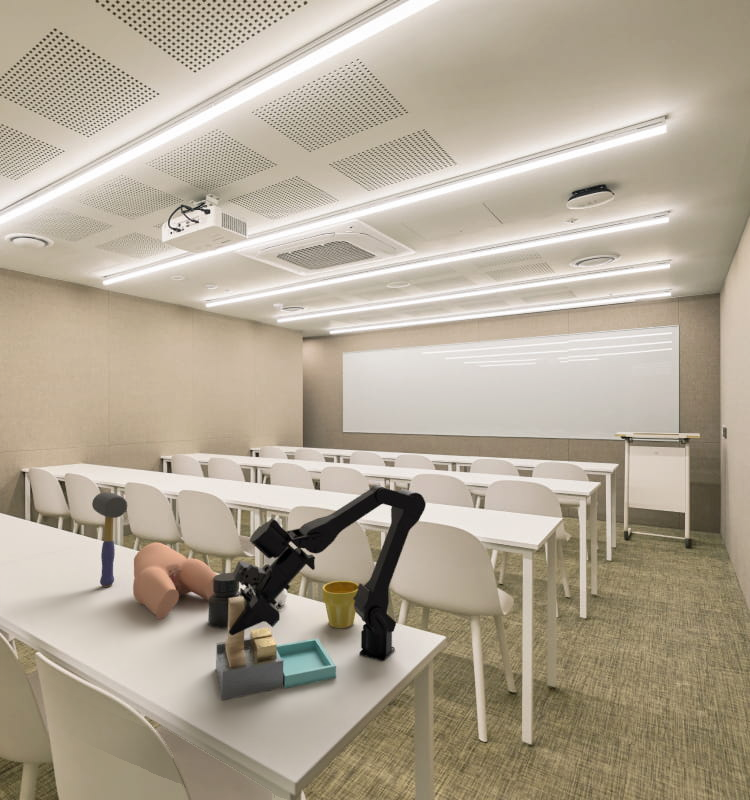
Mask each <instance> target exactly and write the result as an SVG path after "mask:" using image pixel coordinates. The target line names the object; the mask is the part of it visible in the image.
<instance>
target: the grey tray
mask: <svg viewBox="0 0 750 800" xmlns="http://www.w3.org/2000/svg"><path fill="white" fill-rule="evenodd" d="M215 651H216V654H215V670H216V676H217V681H218V685H219V686H218V687H219V690H220V691H219V692H220V697H221V701H226V700H230V699H235V698H240V697H244V696H250V695H253V694H259V693H263V692H269V691H273V690H278V689H282V688H283V689H284V685H283V659H282V658H281V659H279V657H278V655H277V658H276V659H275V660H270V661H264V662H259V663H255V661H254V657H253V655H252V652H251V650H250V637H244V651H245V654H246V665H243V666H237V667H232V668H230V667H229V663H228V659H227V655H226V641H222V642H216V650H215Z"/></svg>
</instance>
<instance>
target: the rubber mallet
mask: <svg viewBox="0 0 750 800" xmlns="http://www.w3.org/2000/svg"><path fill="white" fill-rule="evenodd" d="M91 503H92V508H93V510H94V511H95V512H96V513H98V514H99V515H101V516H104V535H103V537H104V538H103V543H102V547H101V552H100V553H101V557H100V559H101V576H100V580H99V584H100V585H101V586H102V587H103V588H108V587H111V586H113V584H114V582H115V577H114V562H115V561H114V560H115V556H116V555H115V554H116V553H115V551H116V550H115V542H114V522H115V521H114V519H115V518H119V517H121V516H123V515H124V514H125V513H126V511H127V509H128V502H127V500H126V498H124V497H123V496H121V495H119V494H116V493H113V492H106V491H104V492H99V493H98V494H97V495H96V496H94V498H93V500H92V502H91Z"/></svg>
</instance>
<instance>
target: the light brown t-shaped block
mask: <svg viewBox="0 0 750 800" xmlns="http://www.w3.org/2000/svg"><path fill="white" fill-rule="evenodd" d="M244 604H245V600H244V597H243V596H241V597H233V598H229V602H228V627H227V638H226V639H225V642H226V655H227V659H228V663H229V667H230V668H232V667H237V666H243V665H246V654H245V651H244V639H245V630H243V631H241V632H239V633H236V634H234V635H231V634H230V633H229V630H230V629H231V627H232V626H233V624H234V623H235V621H236V620H237V619H238V617H239V616H240V614H241V613H242V612H243V610H244Z"/></svg>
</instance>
